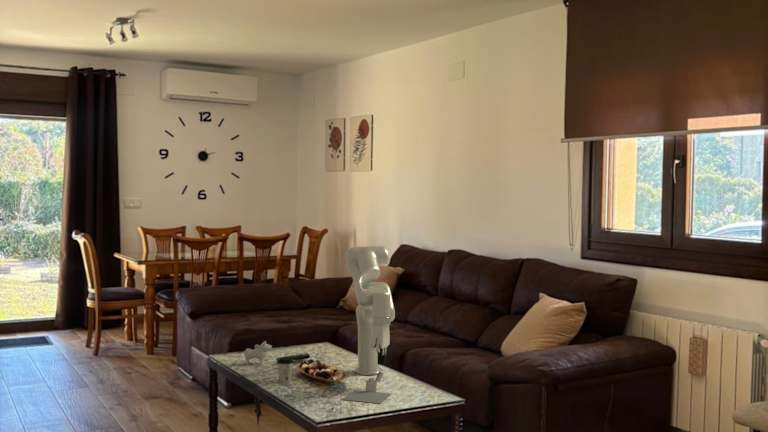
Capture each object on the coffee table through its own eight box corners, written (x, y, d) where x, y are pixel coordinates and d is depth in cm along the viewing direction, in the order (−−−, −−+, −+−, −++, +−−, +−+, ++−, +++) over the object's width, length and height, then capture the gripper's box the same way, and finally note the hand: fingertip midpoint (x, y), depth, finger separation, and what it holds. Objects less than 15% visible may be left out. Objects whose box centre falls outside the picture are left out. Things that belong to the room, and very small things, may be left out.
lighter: (367, 391, 311) (368, 371, 311) (365, 391, 312) (366, 371, 313) (382, 391, 314) (383, 371, 315) (381, 390, 316) (381, 370, 316)
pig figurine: (272, 365, 356) (271, 342, 355) (244, 365, 354) (244, 343, 354) (272, 362, 361) (272, 340, 361) (244, 363, 360) (244, 340, 359)
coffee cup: (290, 384, 324) (290, 360, 323) (274, 383, 325) (274, 360, 324) (295, 379, 330) (295, 357, 330) (280, 379, 332) (280, 356, 331)
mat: (354, 390, 314) (354, 389, 314) (391, 394, 309) (391, 393, 309) (341, 399, 301) (341, 399, 301) (380, 404, 296) (380, 403, 296)
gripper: (379, 317, 328) (379, 360, 328) (366, 323, 314) (367, 367, 314) (395, 318, 325) (395, 361, 326) (384, 323, 311) (384, 368, 312)
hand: (381, 364), depth 320 cm, fingers closed
